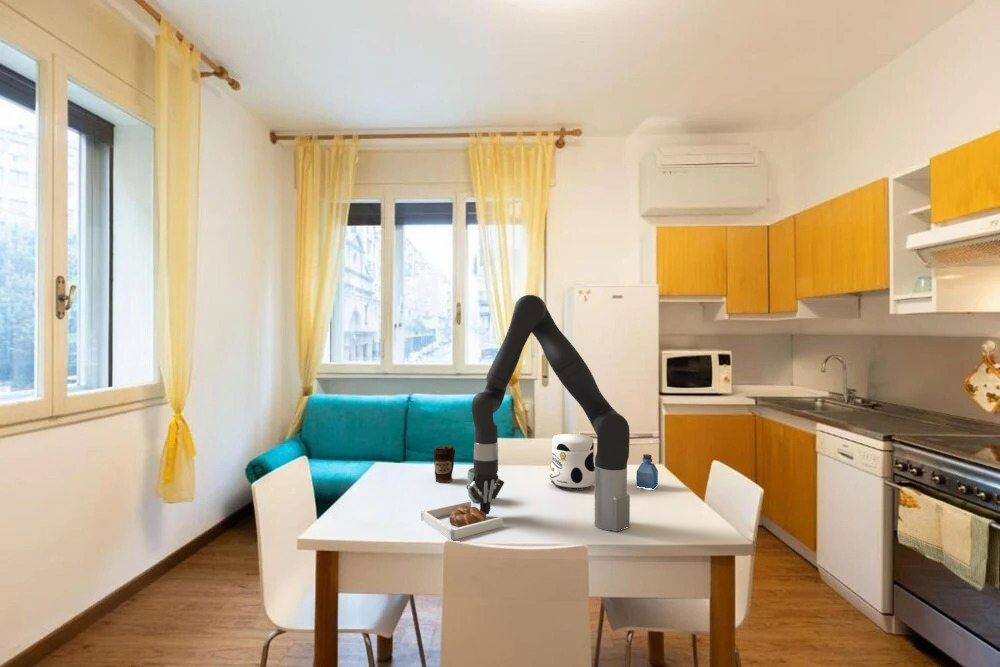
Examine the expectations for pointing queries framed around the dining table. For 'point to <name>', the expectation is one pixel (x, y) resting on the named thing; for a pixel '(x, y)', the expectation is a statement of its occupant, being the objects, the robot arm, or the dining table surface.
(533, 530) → the dining table surface
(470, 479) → the cup
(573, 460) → the milk container
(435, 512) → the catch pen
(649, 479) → the perfume bottle
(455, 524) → the pretzel
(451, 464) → the coffee cup
